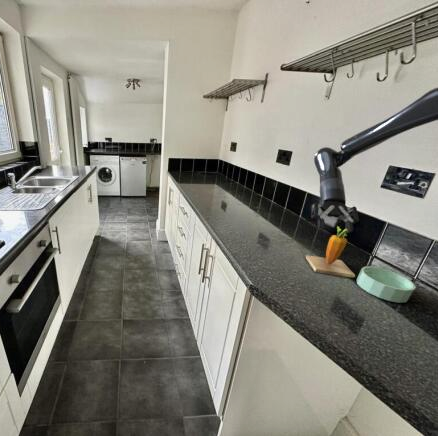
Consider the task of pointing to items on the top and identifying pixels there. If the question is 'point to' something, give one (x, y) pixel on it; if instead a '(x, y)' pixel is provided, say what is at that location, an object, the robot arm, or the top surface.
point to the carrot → (336, 246)
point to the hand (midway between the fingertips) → (335, 231)
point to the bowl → (385, 284)
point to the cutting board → (329, 266)
